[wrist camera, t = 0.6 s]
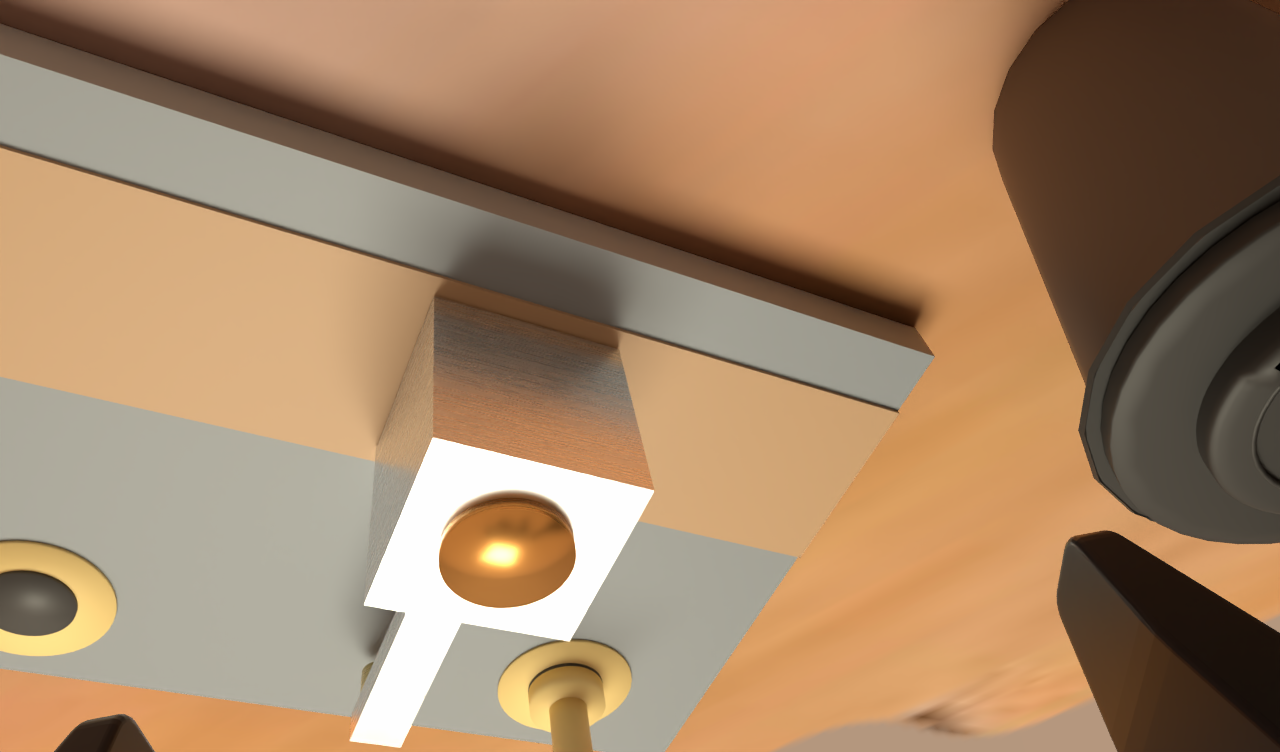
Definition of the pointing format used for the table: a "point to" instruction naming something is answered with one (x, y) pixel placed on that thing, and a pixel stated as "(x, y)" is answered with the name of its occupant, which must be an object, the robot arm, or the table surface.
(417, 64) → the table surface
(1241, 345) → the coffee cup
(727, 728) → the table surface
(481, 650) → the jig plate
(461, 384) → the white block with bar
